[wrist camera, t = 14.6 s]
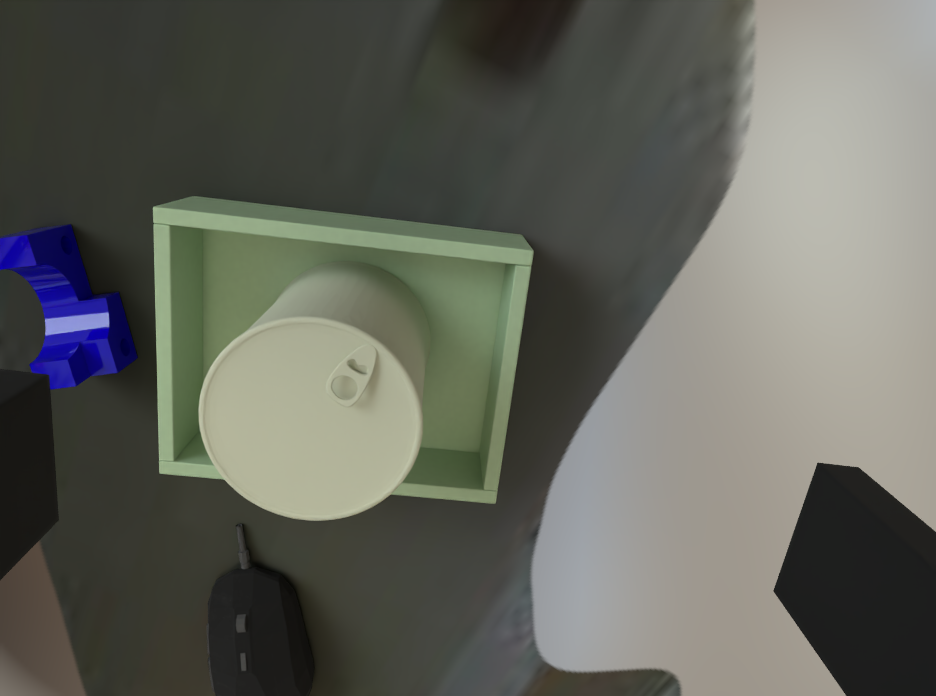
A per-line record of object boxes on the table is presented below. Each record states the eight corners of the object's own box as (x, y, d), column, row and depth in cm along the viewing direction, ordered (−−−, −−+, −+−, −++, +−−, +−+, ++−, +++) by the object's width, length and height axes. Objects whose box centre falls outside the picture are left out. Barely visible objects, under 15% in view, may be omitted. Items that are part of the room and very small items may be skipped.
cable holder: (137, 358, 39) (104, 382, 35) (78, 365, 39) (38, 390, 35) (97, 220, 36) (57, 231, 32) (34, 228, 36) (-14, 239, 32)
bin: (193, 195, 36) (152, 206, 31) (522, 234, 37) (534, 250, 32) (194, 431, 40) (158, 474, 35) (489, 459, 42) (495, 504, 36)
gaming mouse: (289, 519, 42) (273, 557, 39) (322, 700, 47) (311, 750, 43) (190, 527, 42) (165, 566, 39) (233, 707, 47) (214, 758, 43)
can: (462, 325, 38) (470, 409, 27) (369, 442, 40) (338, 566, 29) (328, 226, 36) (273, 270, 25) (237, 354, 38) (148, 450, 27)
